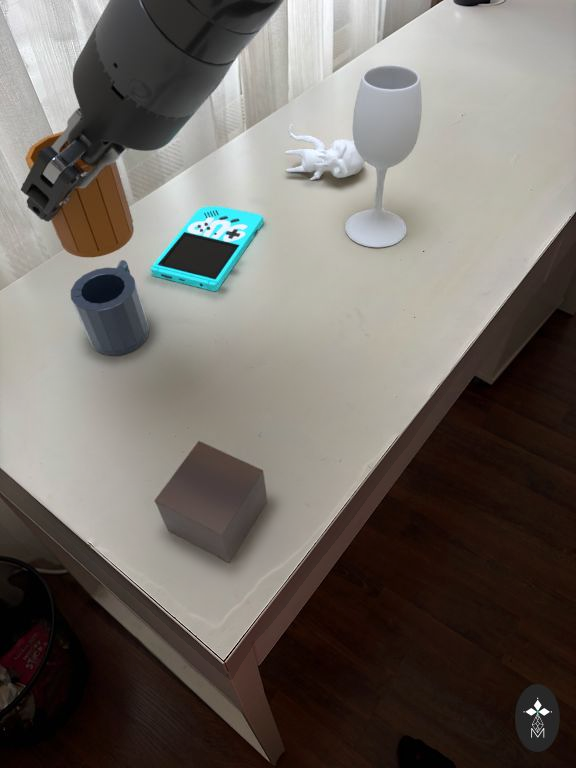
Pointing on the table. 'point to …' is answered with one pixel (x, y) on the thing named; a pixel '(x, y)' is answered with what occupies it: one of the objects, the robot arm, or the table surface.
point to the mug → (111, 310)
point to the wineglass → (384, 143)
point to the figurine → (327, 157)
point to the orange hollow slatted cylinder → (91, 211)
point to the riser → (213, 500)
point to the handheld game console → (208, 247)
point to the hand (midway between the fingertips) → (66, 187)
